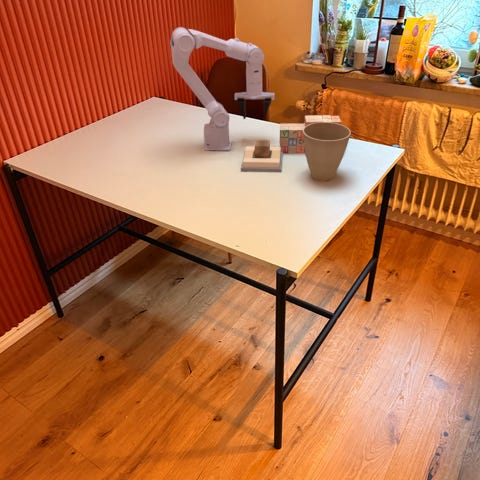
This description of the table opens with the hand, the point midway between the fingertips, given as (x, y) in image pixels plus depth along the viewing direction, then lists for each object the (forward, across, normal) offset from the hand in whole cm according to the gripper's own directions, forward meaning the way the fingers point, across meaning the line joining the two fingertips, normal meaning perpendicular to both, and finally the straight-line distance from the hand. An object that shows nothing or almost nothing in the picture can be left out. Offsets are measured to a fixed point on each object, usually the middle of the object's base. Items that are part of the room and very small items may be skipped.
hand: (254, 118), depth 170 cm
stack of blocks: (+10, +20, -7) cm, 24 cm away
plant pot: (+10, +25, -27) cm, 38 cm away
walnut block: (+8, +4, -18) cm, 20 cm away
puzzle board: (+9, +4, -18) cm, 21 cm away
